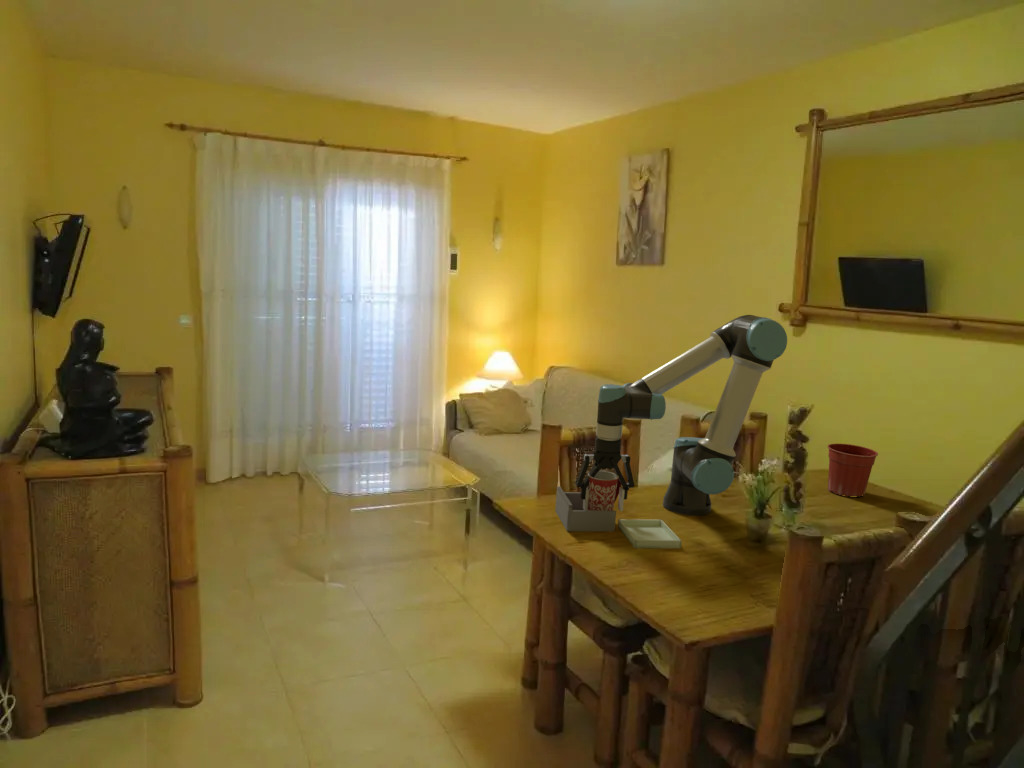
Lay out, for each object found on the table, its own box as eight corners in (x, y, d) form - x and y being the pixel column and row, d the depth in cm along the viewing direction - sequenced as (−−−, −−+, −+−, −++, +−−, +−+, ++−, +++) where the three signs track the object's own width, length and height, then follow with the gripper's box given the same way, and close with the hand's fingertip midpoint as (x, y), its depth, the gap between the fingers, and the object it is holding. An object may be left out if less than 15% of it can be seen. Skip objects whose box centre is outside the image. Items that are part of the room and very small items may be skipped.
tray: (660, 526, 217) (661, 519, 216) (680, 548, 201) (681, 540, 201) (617, 526, 215) (618, 519, 214) (634, 548, 199) (635, 540, 199)
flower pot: (882, 499, 256) (889, 455, 253) (842, 501, 252) (849, 456, 249) (849, 484, 272) (855, 443, 269) (811, 486, 267) (817, 443, 265)
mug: (600, 526, 211) (604, 481, 209) (578, 516, 218) (581, 473, 215) (628, 518, 219) (633, 475, 217) (606, 509, 226) (610, 467, 224)
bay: (599, 511, 227) (601, 487, 225) (614, 531, 211) (616, 505, 209) (555, 510, 225) (557, 486, 223) (567, 531, 209) (569, 505, 207)
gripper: (641, 434, 219) (635, 505, 223) (567, 433, 216) (562, 505, 220) (649, 441, 212) (643, 513, 216) (573, 440, 209) (568, 513, 213)
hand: (602, 509), depth 218 cm, fingers closed on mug, 10 cm apart
